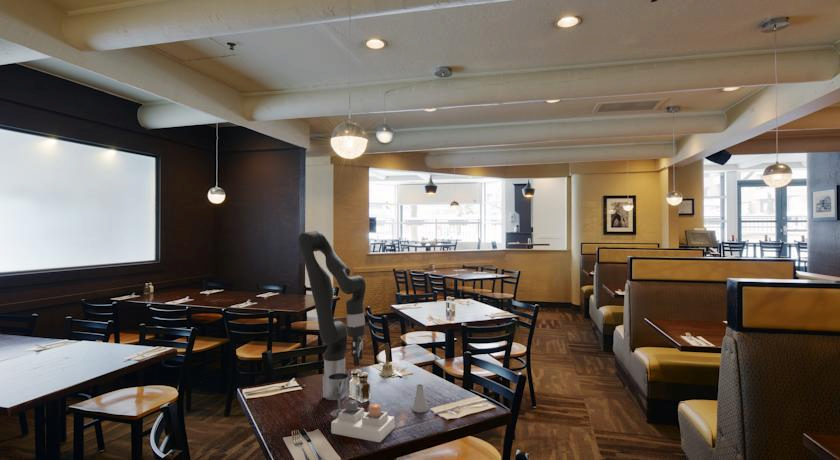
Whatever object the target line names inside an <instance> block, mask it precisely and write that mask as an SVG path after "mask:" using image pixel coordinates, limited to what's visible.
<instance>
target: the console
mask: <svg viewBox="0 0 840 460" xmlns="http://www.w3.org/2000/svg"><path fill="white" fill-rule="evenodd" d="M343 409H344V410H342V411H341V412H340V413H338V417H336V418H335V419H333V420H332V421H331V422H330V423H331V424H330V425H331V426H330V428H331V430H330V432H331V434H332V435H333V434H334V435H340V436H344V437H349V438H354V439H360V440H366V441H369V442H374V443H375V442H376V443H381V442H382V441H383V440H384V439H385V438H386V437H388V435H389V434H390V433H391V432H392V431H393V430H394V429H395V427H396V426H395V424H396V421H395V420H396V419H395V416H393V415H392V416H391V415H389V412H388V411H383V410H381V415H380V416H377V417H371V416H369V411H368V412H367V411H365V408H363V407H358V406H357V411H356V412H354V413H347V412H346V411H345V408H343Z"/></svg>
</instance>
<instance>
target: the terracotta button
mask: <svg viewBox="0 0 840 460" xmlns="http://www.w3.org/2000/svg"><path fill="white" fill-rule="evenodd" d="M381 411H382V405H381V404H379V403H371V404H369V405H368V412H369V416H371V417H377V416H380V415H381Z"/></svg>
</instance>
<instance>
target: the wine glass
mask: <svg viewBox="0 0 840 460" xmlns="http://www.w3.org/2000/svg"><path fill="white" fill-rule="evenodd" d="M348 386H349V374H348V373H346V372H345V373H335V374H331V375H330V376H329V387H330V390H331V392H332V393H333V394H334V395H335V396H336V398H337V400H336V401H337V409H334V410H332V411H331V412H330V413H329V414H330V415H331V416H332V417H336V418H338V413H340V412H341V411H342V410H344V409H345V408H341V400H342V399H341V397H342V395H343V394H344V393H345V391H346V392H347V390H348V388H349V387H348Z"/></svg>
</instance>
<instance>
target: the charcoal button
mask: <svg viewBox="0 0 840 460" xmlns="http://www.w3.org/2000/svg"><path fill="white" fill-rule="evenodd" d="M344 404H345V405H344V406H345V408H344V409H345V411H346V412H347V413H354V412H356V411H357V407H358V401H357V400H355V399H351V400H350V399H349V400H347V401H345V403H344Z"/></svg>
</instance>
